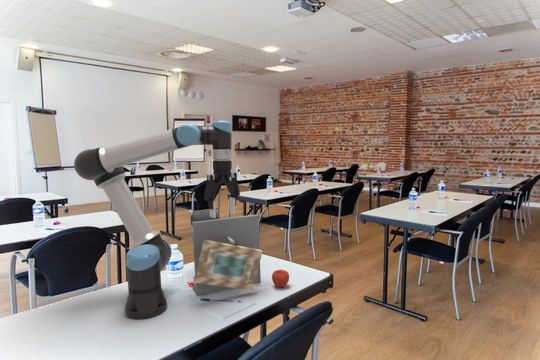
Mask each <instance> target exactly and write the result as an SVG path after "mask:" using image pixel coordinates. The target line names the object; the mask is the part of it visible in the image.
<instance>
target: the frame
mask: <svg viewBox="0 0 540 360" xmlns="http://www.w3.org/2000/svg"><path fill="white" fill-rule="evenodd" d="M237 245H238V243H235V244H234V245H231V244H226V243H220V242H215V241H209V240H204V242H203V246H202V249H201V253H200V257H199V261H198V264H197V268H196V272H195V271H194V275H193V276H194V277H193V282H194V284H195V283H201V284H209V285H216V286H224V287H232V288H233V289H239V290H240V289H241V290H247V291H248V290H249V291H253V289H254V287H255V284H254V282H255V278H256V275H257V271H258V267H259V263H260V264H261V259H262V256H263V255H262V254H263V250H261V249H260V250H259V249H254V248H248V247H242V246H237Z"/></svg>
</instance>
